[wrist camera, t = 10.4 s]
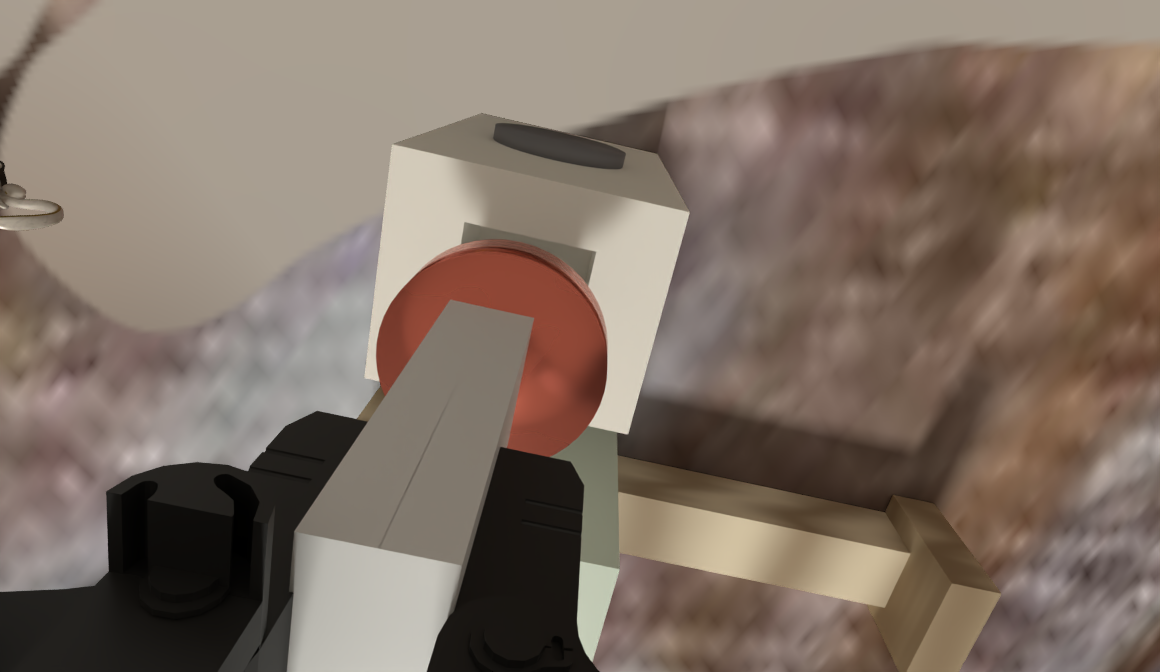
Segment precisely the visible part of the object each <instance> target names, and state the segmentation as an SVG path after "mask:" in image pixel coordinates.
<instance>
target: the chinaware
mask: <svg viewBox="0 0 1160 672" xmlns="http://www.w3.org/2000/svg"><path fill="white" fill-rule="evenodd" d="M4 169H5V164H4V163H3V162H2V161H0V208H2V209H5V210H7V209H9V206H11V207H15V208H19V209H28V210H39V211H46V212H49V213H48V214H40V215H24V216H23V215H22V216H21V215H20V216H19V215H18V216H0V229H4V230H11V231H24V230H34V229H41V228H45V227H49V226H52V225H55V224H57V223H59V222H60V221H62V219H63V217H64V213H63V209H62V208H61V206H59V205H58V204H56V203H53V202H50V201H45V200H33V199H31V200H30V199H25V197H26V195H25V194H26V190H25V189H24V188H22V187H21V186H19V185H16V184H7V179H6V175H5V171H4Z"/></svg>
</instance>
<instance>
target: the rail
mask: <svg viewBox="0 0 1160 672" xmlns="http://www.w3.org/2000/svg"><path fill="white" fill-rule="evenodd" d="M384 397H385V395H384V393H383V390H382V387H381V386H380V388H379V389H378V390H377V392H376V393H375V395H374V396H373V397H372V399H371V400H370V401H369V403H368V404H367V406H366V407H365V408H364V410H363V411H362V412H361V414H360V415H359V417H358V418H357V419H358V420H363V421H367V422H368V421H369V420H370V418H371V417H372V415H373V414H374V412H375V411H376V409H377V408H378V406H379V405H380V403H381V402H382V400H383V399H384ZM617 457H618V510H619V553H623V554H628V555H633V556H638V557H643V558H647V559H652V560H657V561H662V562H667V563H671V564H676V565H681V566H686V567H691V568H696V569H700V570H705V571H710V572H715V573H720V574H724V575H729V576H734V577H739V578H744V579H748V580H753V581H758V582H763V583H768V584H772V585H777V586H782V587H787V588H792V589H797V590H801V591H806V592H811V593H816V594H821V595H825V596H830V597H835V598H840V599H845V600H849V601H854V602H859V603H864V604H867V606H868V608H869V610H870V612H871V615H872V617H873V619H874V621H875V623H876V625H877V627H878V629H879V631H880V633H881V635H882V637H883V640H884V642H885V644H886V646H887V648H888V650H889V652H890V654H891V656H892V658H893V660H894V663H895V665H896V667H897V669H898V671H899V672H959V670H960V668H961V667H962V665H963V663H964V661H965V659H966V658H967V656H968V654H969V652H970V650H971V648H972V647H973V645H974V643H975V641H976V639H977V638H978V636H979V634H980V632H981V630H982V628H983V627H984V625H985V623H986V621H987V619H988V617H989V616H990V614H991V612H992V610H993V608H994V607H995V605H996V603H997V601H998V599H999V597H1000V596H1001V592H1000V591H999V590H998V588H997V587H996V586H995V584H994V583H993V582H992V580H991V579H990V578H989V576H988V575H987V574H986V572H985V571H984V570H983V568H982V567H981V566H980V564H979V563H978V562H977V560H976V559H975V558H974V556H973V555H972V554H971V552H970V551H969V550H968V548H967V547H966V546H965V544H964V543H963V541H962V540H961V539H960V537H959V536H958V535H957V533H956V532H955V531H954V529H953V528H952V527H951V525H950V524H949V523H948V521H947V520H946V519H945V517H944V516H943V515H942V513H941V512H940V511H939V509H938V508H937V507H936V505H935V504H934V503H929V502H925V501H920V500H915V499H911V498H906V497H901V496H897V495H893V496H892V498H891V500H890V502H889V505H888V507H887V509H886V511H885V512H881V511H876V510H871V509H867V508H862V507H857V506H853V505H848V504H843V503H838V502H834V501H829V500H824V499H820V498H815V497H810V496H806V495H801V494H796V493H792V492H787V491H782V490H778V489H773V488H768V487H764V486H759V485H754V484H749V483H745V482H740V481H735V480H731V479H726V478H721V477H717V476H712V475H707V474H703V473H698V472H693V471H689V470H684V469H679V468H675V467H670V466H665V465H661V464H656V463H651V462H646V461H642V460H637V459H632V458H628V457H623V456H618V455H617Z"/></svg>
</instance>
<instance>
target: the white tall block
mask: <svg viewBox="0 0 1160 672" xmlns="http://www.w3.org/2000/svg"><path fill="white" fill-rule="evenodd" d="M689 213H690V212H689V210H688V208H687V206H686V205H685V203H684V201H683V199H682V197H681V196H680V194H679V192H678V190H677V188H676V187H675V185H674V183H673V181H672V179H671V178H670V176H669V174H668V172H667V170H666V169H665V167H664V165H663V163H662V161H661V160H660V158H659V156H658V154H656V153H651V152H647V151H643V150H638V149H634V148H630V147H626V146H621V145H617V144H613V143H608V142H604V141H600V140H595V139H591V138H587V137H582V136H578V135H574V134H569V133H565V132H561V131H556V130H552V129H548V128H543V127H539V126H535V125H531V124H526V123H522V122H518V121H513V120H509V119H505V118H500V117H496V116H492V115H487V114H483V113H481V114H478V115H475V116H473V117H470V118H467V119H464V120H461V121H458V122H455V123H452V124H449V125H447V126H444V127H441V128H438V129H435V130H432V131H429V132H426V133H423V134H421V135H417V136H415V137H412V138H409V139H406V140H403V141H400V142H397V143H394V144H392V150H391V159H390V167H389V175H388V184H387V193H386V201H385V209H384V217H383V226H382V234H381V243H380V251H379V259H378V268H377V276H376V285H375V293H374V302H373V310H372V318H371V327H370V335H369V344H368V352H367V360H366V369H365V377H364V378H367V379H372V380H376V381H379V377H378V372H377V364H376V344H377V338H378V333H379V328H380V326H381V323H382V320H383V317H384V315H385V313H386V311H387V309H388V307H389V305H390V303H391V302H392V301H393V299H394V298H395V297H396V295H397V294H398V293H399V291H400V290H401V289H402V288H403V287H404V286H405V285H406V284H407V283H408V282H409V281H410V280H411V279H412V278H413V277H414V275H415V274H416V273H417V272H418V271H419V270H420V269H421V268H422V267H423V266H424V265H425V264H427V263H428V262H429V261H430V260H432V259H433V258H434V257H436V256H437V255H439V254H441V253H443V252H444V251H446V250H448V249H450V248H453V247H455V246H458V245H461V244H464V243H468V242H472V241H477V240H487V239H506V240H512V241H518V242H523V243H526V244H529V245H533V246H536V247H538V248H540V249H543V250H545V251H547V252H549V253H551V254H552V255H554V256H556V257H557V258H559V259H561V260H562V261H563V262H565V263H566V264H567V265H568V266H570V267H571V268H572V269H573V270H574V271H575V272H576V273H577V274H578V275H579V276H580V277H581V278H582V279H583V280H584V281H585V283H586V284H587V285H588V287H589V288H590V289H591V291H592V293H593V294H594V296H595V298H596V300H597V302H598V304H599V306H600V309H601V311H602V314H603V317H604V321H605V325H606V330H607V340H608V359H607V381H606V386H605V392H604V395H603V398H602V401H601V404H600V406H599V408H598V410H597V412H596V414H595V416H594V418H593V419H592V421H591V422H590V424H589V425H588V426H590V427H595V428H600V429H604V430H609V431H614V432H618V433H623V434H628V433H629V429H630V426H631V422H632V418H633V415H634V411H635V408H636V404H637V400H638V397H639V393H640V390H641V386H642V382H643V379H644V375H645V372H646V368H647V364H648V361H649V357H650V354H651V350H652V346H653V343H654V339H655V336H656V332H657V328H658V325H659V321H660V318H661V314H662V310H663V307H664V303H665V300H666V296H667V292H668V289H669V285H670V282H671V278H672V274H673V271H674V267H675V264H676V260H677V256H678V253H679V249H680V246H681V242H682V238H683V235H684V231H685V228H686V224H687V220H688V217H689Z"/></svg>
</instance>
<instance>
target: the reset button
mask: <svg viewBox="0 0 1160 672" xmlns="http://www.w3.org/2000/svg"><path fill="white" fill-rule="evenodd" d="M450 300H454V301H459V302H464V303H468V304H473V305H477V306H482V307H486V308H491V309H496V310H500V311H505V312H509V313H514V314H518V315H523V316H528V317H532V318H534V321H533V326H532V330H531V335H530V340H529V345H528V350H527V354H526V359H525V364H524V369H523V374H522V379H521V383H520V388H519V393H518V398H517V403H516V407H515V412H514V417H513V422H512V427H511V431H510V436H509V441H508V446H507V448H509V449H514V450H518V451H523V452H528V453H533V454H537V455H542V456H547V457H551V456H553V455H555V454H557V453H558V452H560V451H561V450H563V449H564V448H566V447H567V446H569V445H570V444H571V443H572V442H573V441H575V440H576V439H577V438H578V437H579V436H580V435H581V434H582V433H583V431H584V430H585V429H586V428H587V427H588V425H589V424H590V422H591V421H592V419H593V418H594V416H595V414H596V412H597V410H598V408H599V406H600V404H601V401H602V398H603V395H604V392H605V386H606V381H607V359H608V340H607V330H606V325H605V321H604V317H603V314H602V311H601V309H600V306H599V304H598V302H597V300H596V298H595V296H594V294H593V293H592V291H591V289H590V288H589V287H588V285H587V284H586V283H585V281H584V280H583V279H582V278H581V277H580V276H579V275H578V274H577V273H576V272H575V271H574V270H573V269H572V268H571V267H570V266H568V265H567V264H566V263H565V262H563V261H562V260H561V259H559V258H557V257H556V256H554V255H552V254H551V253H549V252H547V251H545V250H543V249H540V248H538V247H536V246H533V245H529V244H526V243H523V242H518V241H512V240H506V239H487V240H477V241H472V242H468V243H464V244H461V245H458V246H455V247H453V248H450V249H448V250H446V251H444V252H443V253H441V254H439V255H437V256H436V257H434V258H433V259H432V260H430V261H429V262H428V263H427V264H425V265H424V266H423V267H422V268H421V269H420V270H419V271H418V272H417V273H416V274H415V275H414V277H413V278H412V279H411V280H410V281H409V282H408V283H407V284H406V285H405V286H404V287H403V288H402V289H401V290H400V291H399V293H398V294H397V295H396V297H395V298H394V299H393V301H392V302H391V303H390V305H389V307H388V309H387V311H386V313H385V315H384V317H383V320H382V323H381V326H380V328H379V333H378V338H377V344H376V364H377V372H378V377H379V381H380V385H381V387H382V390H383V393H384V395H385V396H386V394H387V393H388V391H389V390H390V388H391V387H392V385H393V384H394V382H395V381H396V380H397V378H398V377H399V375H400V374H401V372H402V371H403V369H404V368H405V366H406V365H407V363H408V362H409V360H410V359H411V357H412V356H413V354H414V353H415V351H416V350H417V348H418V347H419V345H420V344H421V342H422V341H423V339H424V338H425V336H426V335H427V333H428V332H429V330H430V329H431V328H432V326H433V325H434V323H435V322H436V320H437V319H438V317H439V316H440V314H441V313H442V311H443V310H444V308H445V307H446V305H447V304H448V302H449V301H450Z"/></svg>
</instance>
